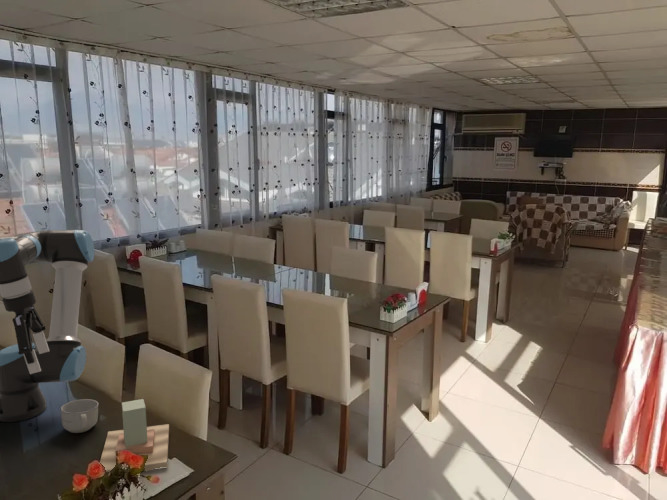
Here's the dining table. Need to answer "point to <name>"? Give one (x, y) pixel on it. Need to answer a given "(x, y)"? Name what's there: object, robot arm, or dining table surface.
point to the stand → (138, 447)
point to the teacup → (79, 415)
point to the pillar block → (134, 422)
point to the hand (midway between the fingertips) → (40, 361)
